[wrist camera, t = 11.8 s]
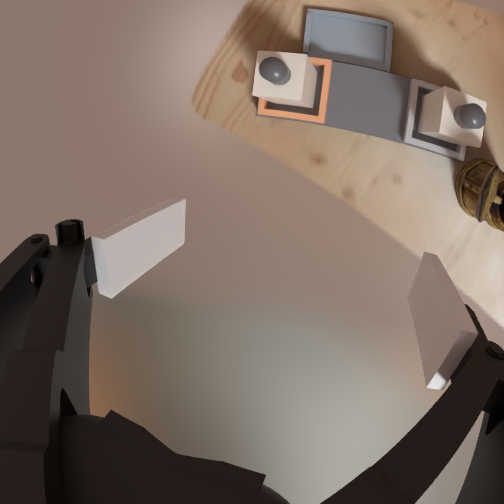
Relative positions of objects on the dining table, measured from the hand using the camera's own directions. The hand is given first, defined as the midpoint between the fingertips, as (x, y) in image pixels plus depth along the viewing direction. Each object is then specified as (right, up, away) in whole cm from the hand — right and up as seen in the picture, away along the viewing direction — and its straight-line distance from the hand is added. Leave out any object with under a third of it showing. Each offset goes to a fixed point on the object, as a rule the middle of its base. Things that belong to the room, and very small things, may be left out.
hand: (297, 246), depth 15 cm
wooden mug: (+29, +10, +19) cm, 36 cm away
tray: (+11, +29, +17) cm, 35 cm away
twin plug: (+21, +17, +15) cm, 31 cm away
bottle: (+3, +21, +19) cm, 29 cm away
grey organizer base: (+13, +20, +20) cm, 31 cm away
